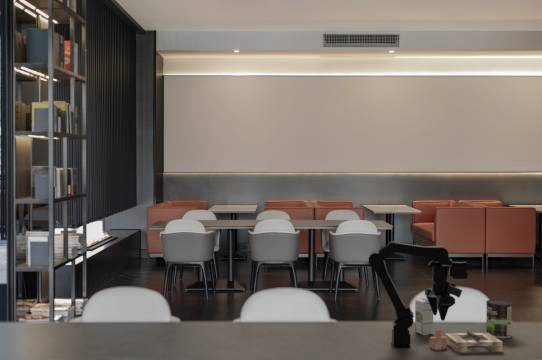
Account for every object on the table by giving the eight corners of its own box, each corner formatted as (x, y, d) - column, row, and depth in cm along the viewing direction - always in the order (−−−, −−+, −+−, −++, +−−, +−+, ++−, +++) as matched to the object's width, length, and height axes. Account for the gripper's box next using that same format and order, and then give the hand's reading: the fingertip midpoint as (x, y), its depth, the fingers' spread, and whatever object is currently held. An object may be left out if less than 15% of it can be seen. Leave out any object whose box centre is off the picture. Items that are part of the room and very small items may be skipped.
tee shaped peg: (431, 349, 256) (432, 330, 256) (429, 346, 259) (429, 328, 259) (446, 348, 256) (447, 330, 256) (444, 346, 259) (444, 328, 259)
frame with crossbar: (456, 352, 251) (456, 338, 251) (444, 342, 265) (444, 329, 265) (502, 352, 252) (502, 337, 252) (488, 342, 266) (488, 328, 266)
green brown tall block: (497, 339, 271) (497, 305, 270) (480, 333, 280) (481, 300, 280) (517, 337, 274) (517, 303, 274) (500, 331, 284) (500, 298, 284)
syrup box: (433, 334, 278) (434, 300, 278) (422, 335, 276) (422, 301, 275) (426, 331, 283) (426, 297, 283) (414, 332, 281) (414, 298, 281)
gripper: (468, 282, 248) (467, 323, 249) (451, 274, 267) (450, 312, 267) (440, 282, 248) (439, 323, 248) (424, 274, 266) (423, 312, 267)
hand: (438, 317), depth 257 cm, fingers open, 9 cm apart
